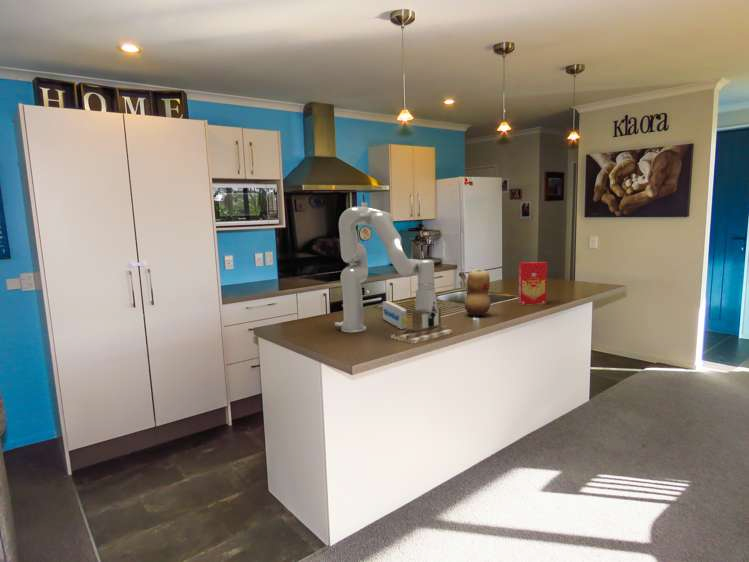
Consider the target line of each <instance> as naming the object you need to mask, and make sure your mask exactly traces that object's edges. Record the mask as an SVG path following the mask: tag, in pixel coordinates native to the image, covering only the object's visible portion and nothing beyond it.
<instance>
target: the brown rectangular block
mask: <svg viewBox="0 0 749 562" xmlns="http://www.w3.org/2000/svg"><path fill="white" fill-rule="evenodd" d="M437 309H438V310H439V313H438V314H437V315H436V316H435V318H434V326H431V327H429V326H428V318H429V314H428V312H426V311H420V310H418V311H416V310H415V311H414V310H413V311H411V313H412V314H411V316H412V317H411V318H412V319H411V320H412V322H411V323H412V328H413V331H415V332H423V331H427V330H431V329H435V328H439V327H442V324H441V323H442V321H441V319H442V315H441V312H442V311H441V308H440V307H437ZM431 314H432V312H431Z"/></svg>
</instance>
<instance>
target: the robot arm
mask: <svg viewBox="0 0 749 562" xmlns="http://www.w3.org/2000/svg"><path fill="white" fill-rule="evenodd" d="M357 225H364V226H365V225H366V226H369V227H372V228H373V230H374V231H375V233H376V235H377V236H378V238H379V239H380V241H381V242H382V244H383V245H384V247H385V249H386V254H387V255H388V258H389V260H390V262H391V264H392V265H393V267H394V268H395V270H396V271H397V273H398V274H399V275H400V276H402V277H403V278H410V277H411V276H415V275H417V284H416V285H417V289H416V292H415V300H414V301H415V302H414V303H415V305H414V310H415V311H418V310H420V311H426V312H428V314H429V318H428V326H429V327H431V326H434V318H435V316H436V315H437V314H438V313H439V310H438V309H437V308H438V301H437V300H438V299H437V293H436V290H435V261H433V260H432V259H417V258H408V257H407V255H406V253H405V252H404V250H403V248H402V247H403V246H402V237H401V234H400V233H399V232H398V231H397V229H396V227H395V225H394V218H393V215H392V214H391V213H390V212H388V211H384V210H380V209H376V208H371V207H367V206H352V207H349V208H346V209H345V210H344V211H343V212H342V213H341V215H340V216H339V220H338V231H339V244H340V245H339V246H340V256H341V259H342V260H343V262H345V264H346V263H347V264H349V265H348V266H346V267H345V268H343V269H342V271H341V273H340V283H341V284H340V285H341V289H342V304H343V305H342V306H343V307H342V308H343V320H341V321H335V322H334V326H335V327H341V328H340V330H341V332H344V333H351V334H352V333H354V334H355V333H363V332H365V331H367V326H366V325H364V306H363V305H364V302H363V289H362V285H361V283H363V282H365V281H366V280H367V278H368V276H369V266H368V265H369V263H368V254H367V250H366V247H365V246H364V244H363V243H360V242H359V239H358V237H359V236H358V232H357V229H356V228H357ZM431 312H432V314H431Z"/></svg>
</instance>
